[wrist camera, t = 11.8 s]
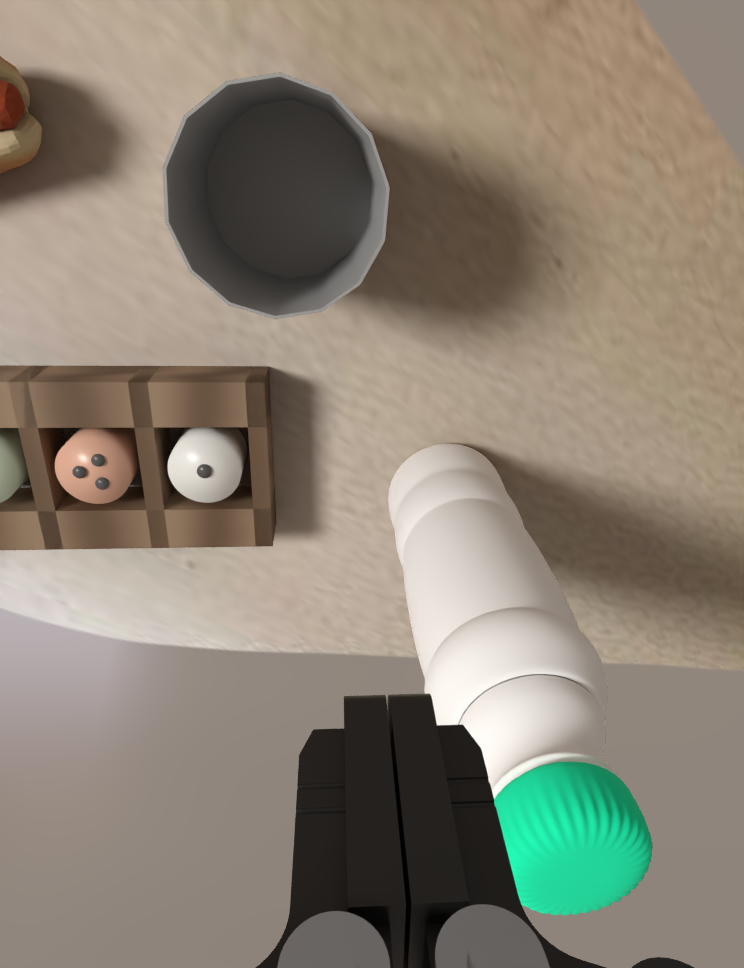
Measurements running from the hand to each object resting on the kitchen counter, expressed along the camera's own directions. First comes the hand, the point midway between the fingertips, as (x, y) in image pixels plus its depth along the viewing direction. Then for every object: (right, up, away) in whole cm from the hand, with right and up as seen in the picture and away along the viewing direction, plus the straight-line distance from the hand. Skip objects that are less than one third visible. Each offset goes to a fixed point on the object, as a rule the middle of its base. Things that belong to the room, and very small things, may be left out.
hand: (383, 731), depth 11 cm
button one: (-10, +6, +28) cm, 30 cm away
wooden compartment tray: (-16, +6, +27) cm, 32 cm away
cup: (-4, +19, +22) cm, 30 cm away
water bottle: (+4, +4, +30) cm, 31 cm away
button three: (-16, +6, +27) cm, 32 cm away
